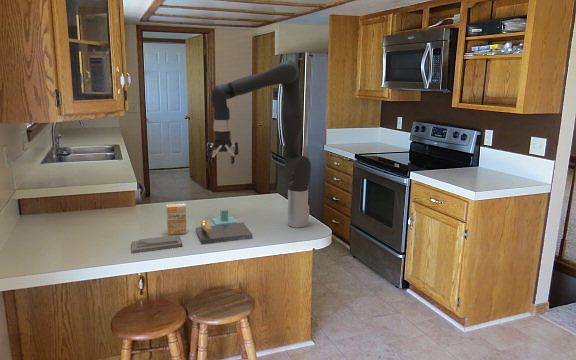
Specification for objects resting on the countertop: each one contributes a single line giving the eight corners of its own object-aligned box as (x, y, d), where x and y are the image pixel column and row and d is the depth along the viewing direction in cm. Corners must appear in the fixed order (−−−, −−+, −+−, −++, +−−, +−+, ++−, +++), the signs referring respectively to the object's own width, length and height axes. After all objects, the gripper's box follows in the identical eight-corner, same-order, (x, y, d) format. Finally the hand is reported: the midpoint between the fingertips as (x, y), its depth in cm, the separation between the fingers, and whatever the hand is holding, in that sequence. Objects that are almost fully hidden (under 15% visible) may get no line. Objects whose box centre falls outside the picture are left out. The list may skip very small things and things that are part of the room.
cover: (231, 218, 230) (231, 206, 228) (237, 225, 221) (236, 211, 219) (211, 221, 226) (211, 208, 225) (216, 227, 217) (215, 214, 216)
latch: (200, 229, 206) (200, 220, 205) (205, 228, 207) (205, 219, 206) (207, 236, 197) (206, 227, 196) (212, 236, 198) (212, 226, 197)
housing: (243, 226, 217) (243, 222, 217) (252, 238, 203) (252, 234, 202) (195, 231, 210) (195, 227, 210) (201, 244, 195) (201, 239, 195)
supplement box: (167, 235, 205) (166, 207, 202) (167, 232, 209) (166, 203, 206) (186, 234, 207) (185, 205, 204) (186, 230, 212) (185, 202, 208)
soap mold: (131, 245, 195) (130, 237, 194) (179, 240, 201) (179, 232, 201) (132, 255, 185) (131, 246, 184) (183, 248, 192) (182, 240, 191)
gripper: (208, 131, 207) (209, 167, 211) (239, 130, 211) (239, 165, 215) (205, 129, 214) (206, 163, 218) (235, 128, 218) (236, 162, 222)
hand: (223, 164), depth 216 cm, fingers open, 8 cm apart
